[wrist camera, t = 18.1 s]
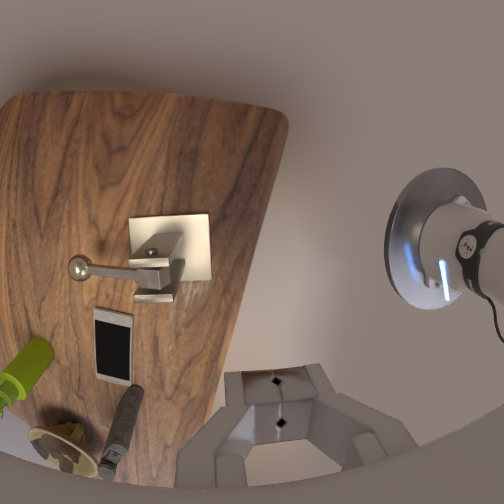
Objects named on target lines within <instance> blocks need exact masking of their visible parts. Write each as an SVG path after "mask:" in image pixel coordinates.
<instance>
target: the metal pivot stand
mask: <svg viewBox="0 0 504 504" xmlns="http://www.w3.org/2000/svg"><path fill="white" fill-rule="evenodd" d="M128 220H129V231H130V241H131V251H132V256H131V257H130V258H129V259H128V260H129V268H148V267H169V272H170V281H171V282H170V283H169V284H168V285H166V286H165V287H164V288H162V289H161V290H157V289H149V288H141V287H138V289H137V290H136V292H135V294H134V302H135V303H168V302H174V298H175V295H176V292H177V289H178V286H179V283H180V281H202V280H212V266H211V248H210V227H209V213H194V214H175V215H158V216H143V217H130V218H129V219H128ZM135 282H136V283H139V280H135Z"/></svg>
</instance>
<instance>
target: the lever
mask: <svg viewBox="0 0 504 504" xmlns="http://www.w3.org/2000/svg"><path fill="white" fill-rule="evenodd" d="M68 273H69V275H70V277H71V278H72V279H73V280H75V281H78V282H83V281H86V280H87V279H89V278H90V276H91V275H98V276H106V277H114V278H123V279H132V280H139V287H141V288H149V289H157V290H161V289H162V288H164V287H165V286H166V285H168V284H169V283H170V282H171V281H170V272H169V267H148V268H128V267H117V266H106V265H96V264H92V262H91V260H90V259H89V258H88V257H87V256H85V255H82V254H78V255H75V256H73V257H72V258H71V259H70V261H69V263H68Z"/></svg>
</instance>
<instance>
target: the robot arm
mask: <svg viewBox="0 0 504 504" xmlns="http://www.w3.org/2000/svg"><path fill="white" fill-rule="evenodd" d="M419 255H420V261H421V264H422V267H423V269H424V271H425V275H426V286H427V288H429V289H432V290H444V291H445V298H446V300H449V295H448V290H450V291H455V292H460V291H462V292H466V291H473V292H474V293H475V294H477V295H479V296H481V297H482V298H484V299H487V300H488V301H489V303H490V304H491V306H492V309H493V313H494V322H495V327H496V331H497V334H498V336H499V338H500V339H501V341H502V342H503V343H504V339H503V338H502V336H501V334H500V332H499V328H498V324H497V316H496V309H495V306H494V304H493V302H492V300H491V299H490V298H492V299H493V300H495V301H497V302H499V303H500V304H502V305H504V224H502V223H500V222H496V221H494V220H492V219H491V216H490V215H489V214H487V212H486V211H485V210H482V209H479V208H476V207H473V206H472V205H471V204H470V203H469V201H468V200H467V199H466V198H465V197H464V196H461V195H458V196H456V197H455V198H454V199H453V200H452V201H451V202H450V203H448V204H444V205H442V206H440V207H438V208H437V209H435V210H434V211H433V212H432V214H431V215H430V216H429V217H428V219H427V221H426V223H425V225H424V227H423V230H422V233H421V237H420V243H419ZM436 282H437V283H436ZM224 380H225V381H224V382H225V399H226V407H220V409H219V410H218V411H217V412H216V413H215V414H214V415H213V416H212V417H211V418H210V420H209V421H208V422H207V423H206V424H205V425H204V426H203V427H202V428H201V429H200V430H199V431H198V432H197V433H196V435H195V436H194V437H193V438H192V439H191V440H190V441H189V442H188V443H187V444H186V445H185V446H184V447H183V448H182V449H181V450H180V451H179V452H178V453H177V461H176V472H175V484H174V488H166V487H152V486H142V485H133V484H125V483H118V482H111V481H105V480H100V479H94V478H89V477H85V476H80V475H76V474H71V473H67V472H63V471H59V470H55V469H52V468H49V467H45V466H42V465H39V464H35V463H32V462H29V461H26V460H23V459H21V458H18V457H15V456H12V455H10V454H7V453H4V452H2V451H0V504H504V404H503V405H501V406H499V407H498V408H496V409H494V410H493V411H491V412H489V413H488V414H486V415H484V416H482V417H480V418H479V419H477V420H475V421H473V422H471V423H470V424H467V425H465V426H464V427H461V428H460V429H457V430H455V431H454V432H451V433H449V434H447V435H445V436H443V437H441V438H438V439H436V440H434V441H431V442H429V443H427V444H424V445H422V446H418V445H417V443H416V442H415V441H414V439H413V438H412V436H411V435H410V433H409V432H408V430H407V429H406V427H405V426H404V425H403V423H402V422H401V421H399V420H397V419H395V418H392V417H390V416H388V415H386V414H384V413H381V412H379V411H377V410H375V409H373V408H371V407H368V406H366V405H364V404H362V403H360V402H358V401H356V400H354V399H352V398H350V397H348V396H346V395H344V394H342V393H338V394H336V392H335V390H334V389H333V387H332V385H331V383H330V382H329V380H328V378H327V376H326V374H325V372H324V370H323V368H322V366H321V365H320V364H318V363H317V364H311V365H304V366H301V367H293V368H285V369H274V370H257V371H241V372H240V371H239V372H225V373H224ZM301 439H307V440H308V441H310V442H311V443H312V444H313V445H315V446H316V447H317V448H318V449H320V450H321V451H322V452H323V453H325V454H326V455H327V456H329V457H330V458H331V459H332V460H334V461H335V462H336V463H338V464H339V465H340V466H342V469H341V472H337V473H334V474H329V475H325V476H320V477H314V478H309V479H304V480H299V481H292V482H285V483H278V484H270V485H262V486H250V487H248V485H247V478H246V471H245V464H244V461H245V459H246V457H247V456H248V454H249V453H250V451H251V449H252V447H253V445H262V444H269V443H277V442H285V441H293V440H301Z"/></svg>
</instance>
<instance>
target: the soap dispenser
mask: <svg viewBox="0 0 504 504" xmlns="http://www.w3.org/2000/svg"><path fill="white" fill-rule="evenodd" d="M53 358H54V351H53V349H52V347H51V345H50V344H49V343H48V342H47V341H46V340H45V339H43V338H41V337H34V338H33V339H32V340H31V341H30V342H29V343H28V344H27V345H26V346H25V347H24V348H23V350H22V351H21V352H20V353H19V354H18V355H17V356H16V357H15V358H14V360H13V361H12V362H11V363H10V364H9V365H8V366H7V367H6V369H5V370H4V371H3V372H2V373H1V375H0V382H1V384H2V385H1V386H0V418H2V416H3V410H2V409H3V408H4V406H8V407H10V406H11V405H12V404H13V402H14V401H15V399H17V400H24V399H25V398H26V396H27V395H28V394H29V392H30V391H31V389H32V388H33V386H34V385H35V383H36V382H37V381H38V379H39V378H40V376H41V375H42V374H43V372H44V371H45V370H46V368H47V367H48V365H49V364H50V363H51V361H52V360H53Z"/></svg>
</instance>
